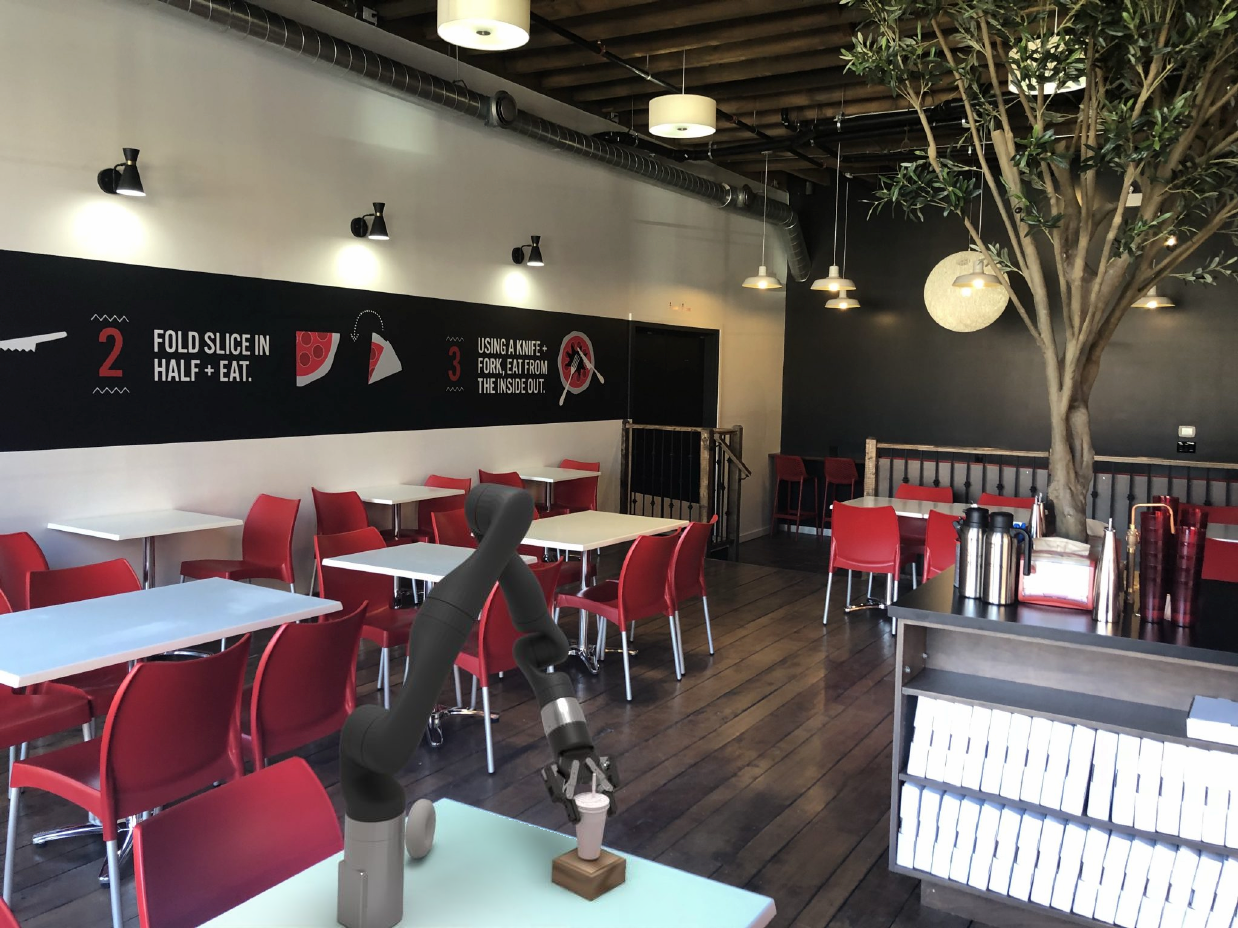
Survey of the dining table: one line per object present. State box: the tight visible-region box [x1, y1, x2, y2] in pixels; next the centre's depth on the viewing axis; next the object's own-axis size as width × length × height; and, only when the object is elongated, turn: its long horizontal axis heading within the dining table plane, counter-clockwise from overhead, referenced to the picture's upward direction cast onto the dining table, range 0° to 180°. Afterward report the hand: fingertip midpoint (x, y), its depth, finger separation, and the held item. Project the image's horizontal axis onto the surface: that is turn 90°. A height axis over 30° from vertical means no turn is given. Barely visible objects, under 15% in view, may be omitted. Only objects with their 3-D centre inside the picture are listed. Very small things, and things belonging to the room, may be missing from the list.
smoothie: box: [573, 773, 609, 859], centre depth 162 cm, size 6×6×14 cm
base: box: [550, 846, 627, 902], centre depth 162 cm, size 9×9×4 cm
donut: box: [405, 798, 437, 859], centre depth 169 cm, size 10×4×10 cm, turn 174°
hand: (595, 818), depth 160 cm, fingers closed on smoothie, 6 cm apart
